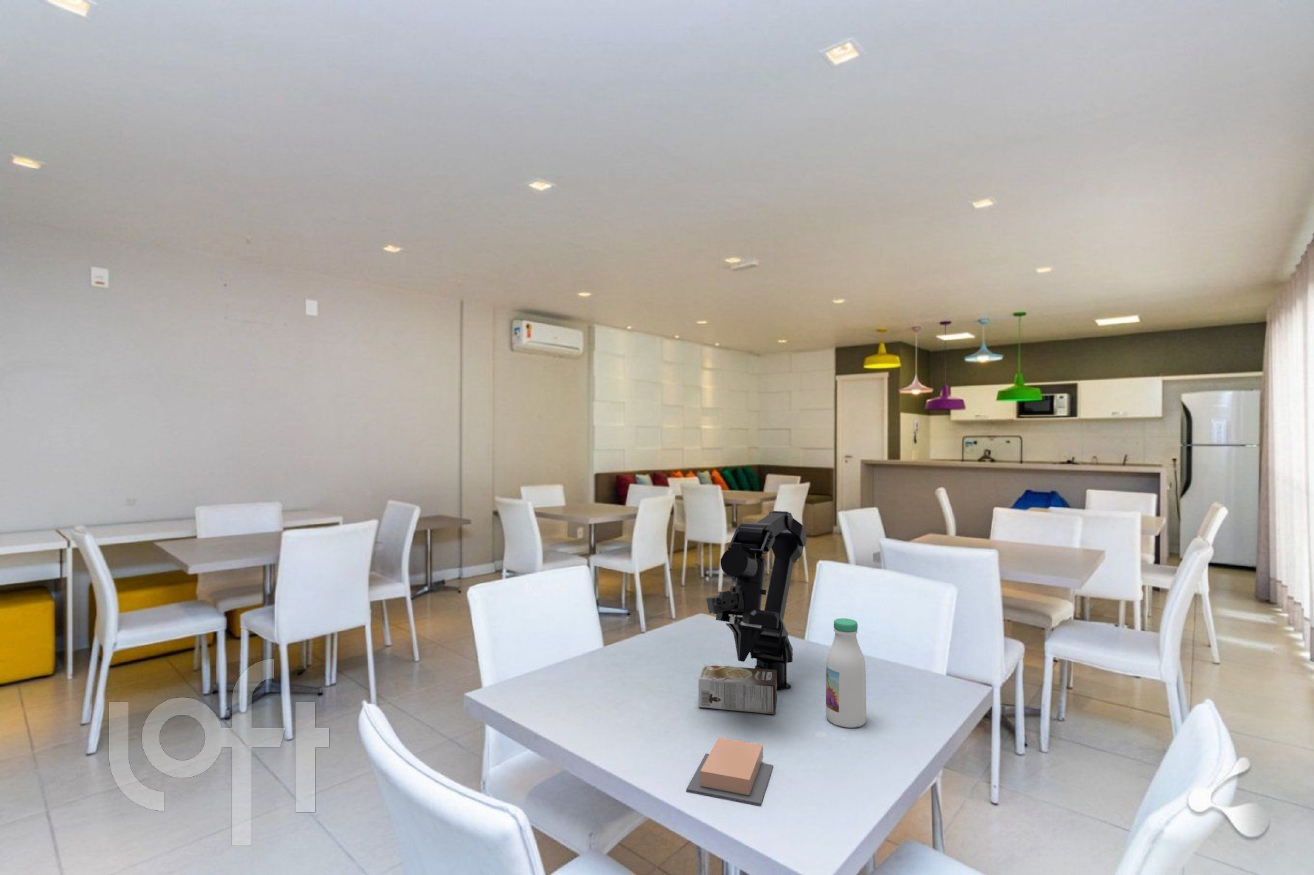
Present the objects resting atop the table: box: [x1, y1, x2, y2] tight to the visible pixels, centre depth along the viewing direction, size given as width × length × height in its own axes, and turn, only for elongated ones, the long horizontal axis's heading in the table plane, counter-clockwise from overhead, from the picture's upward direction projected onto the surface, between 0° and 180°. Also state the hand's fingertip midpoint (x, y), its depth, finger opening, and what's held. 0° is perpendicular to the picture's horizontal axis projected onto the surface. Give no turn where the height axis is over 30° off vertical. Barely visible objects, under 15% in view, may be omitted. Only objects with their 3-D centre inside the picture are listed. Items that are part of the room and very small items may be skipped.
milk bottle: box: [825, 617, 867, 729], centre depth 125 cm, size 8×8×20 cm
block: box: [700, 737, 764, 796], centre depth 105 cm, size 3×8×12 cm
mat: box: [685, 753, 774, 807], centre depth 104 cm, size 12×12×1 cm
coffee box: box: [698, 664, 778, 715], centre depth 133 cm, size 9×6×16 cm
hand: (741, 661), depth 126 cm, fingers closed
